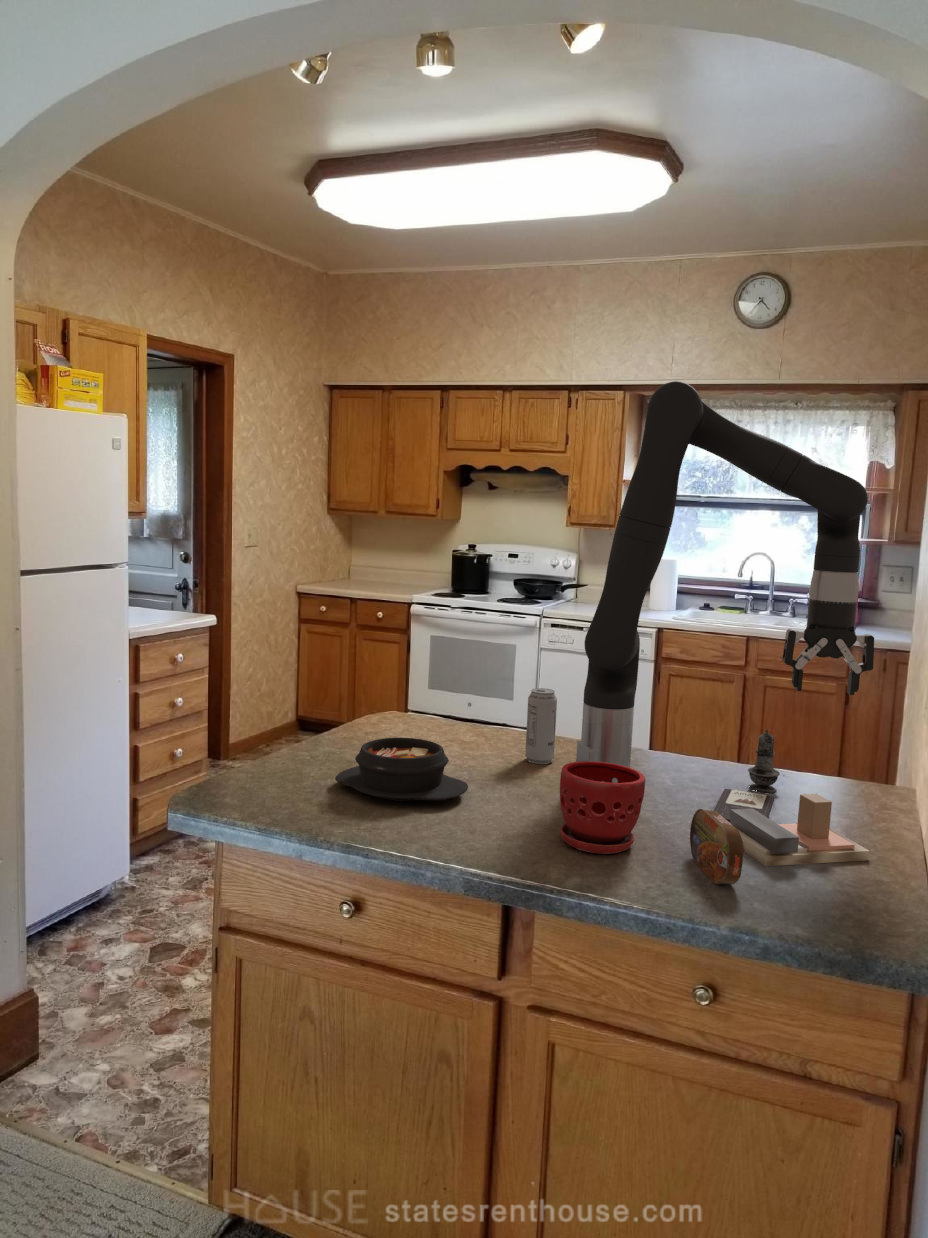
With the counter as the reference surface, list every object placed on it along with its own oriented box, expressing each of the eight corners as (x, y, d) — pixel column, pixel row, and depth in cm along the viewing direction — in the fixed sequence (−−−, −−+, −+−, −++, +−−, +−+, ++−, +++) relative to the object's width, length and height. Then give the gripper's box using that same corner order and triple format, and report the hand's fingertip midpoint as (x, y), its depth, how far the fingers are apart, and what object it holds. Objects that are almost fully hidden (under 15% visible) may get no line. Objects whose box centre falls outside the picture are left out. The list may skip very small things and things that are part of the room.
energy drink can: (555, 765, 183) (558, 694, 181) (525, 764, 183) (529, 693, 182) (552, 757, 189) (556, 688, 187) (524, 756, 189) (527, 687, 187)
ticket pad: (766, 867, 134) (769, 838, 133) (723, 836, 146) (725, 809, 146) (870, 861, 138) (873, 833, 137) (819, 831, 150) (821, 805, 150)
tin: (686, 853, 138) (690, 800, 137) (706, 853, 139) (710, 801, 138) (722, 894, 124) (727, 836, 123) (744, 894, 124) (749, 836, 123)
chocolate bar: (710, 816, 154) (724, 788, 171) (709, 821, 154) (724, 793, 171) (764, 825, 151) (774, 796, 167) (764, 831, 151) (773, 801, 167)
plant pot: (621, 867, 132) (626, 788, 130) (542, 846, 139) (546, 772, 137) (652, 841, 143) (657, 768, 141) (578, 823, 150) (582, 754, 148)
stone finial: (774, 785, 175) (779, 726, 174) (781, 795, 170) (787, 733, 168) (743, 783, 176) (748, 724, 174) (750, 793, 170) (755, 731, 169)
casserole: (314, 795, 159) (315, 749, 158) (366, 769, 176) (368, 727, 175) (441, 819, 149) (443, 770, 148) (483, 789, 166) (485, 745, 165)
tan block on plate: (808, 851, 137) (812, 809, 136) (772, 828, 146) (775, 789, 146) (854, 848, 139) (858, 807, 138) (815, 826, 148) (818, 787, 147)
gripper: (793, 597, 148) (784, 693, 150) (884, 602, 145) (874, 700, 147) (785, 593, 155) (777, 685, 157) (871, 598, 153) (862, 691, 155)
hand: (824, 692), depth 152 cm, fingers open, 8 cm apart
